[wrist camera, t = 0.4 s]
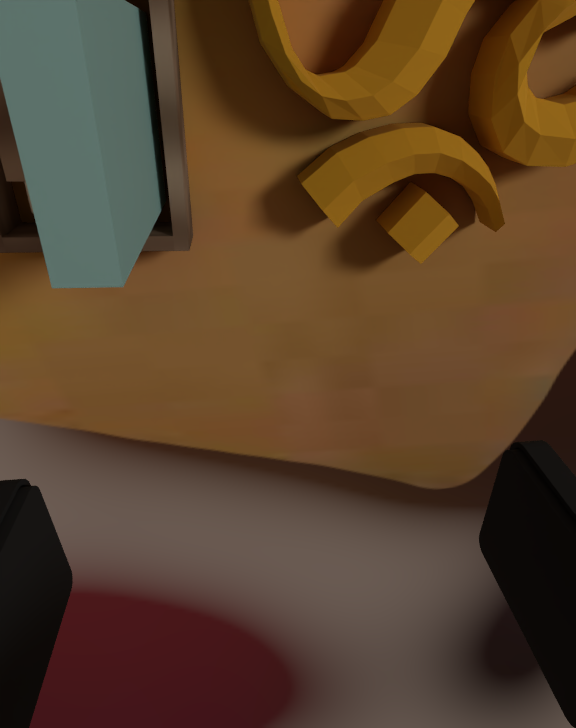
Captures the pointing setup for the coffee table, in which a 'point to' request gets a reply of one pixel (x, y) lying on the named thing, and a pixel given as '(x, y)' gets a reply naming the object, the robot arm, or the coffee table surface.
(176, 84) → the brown rectangular frame
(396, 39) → the decorative symbol
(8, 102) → the teal rectangular block
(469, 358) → the coffee table surface
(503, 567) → the robot arm
